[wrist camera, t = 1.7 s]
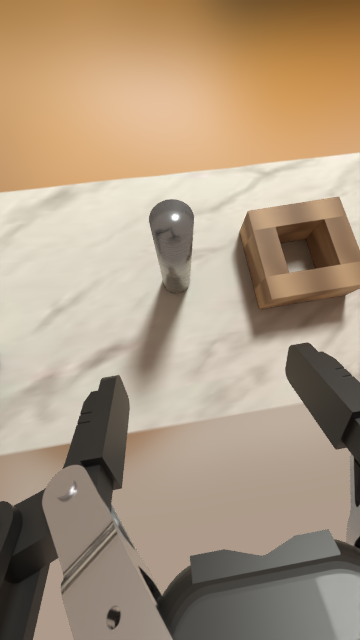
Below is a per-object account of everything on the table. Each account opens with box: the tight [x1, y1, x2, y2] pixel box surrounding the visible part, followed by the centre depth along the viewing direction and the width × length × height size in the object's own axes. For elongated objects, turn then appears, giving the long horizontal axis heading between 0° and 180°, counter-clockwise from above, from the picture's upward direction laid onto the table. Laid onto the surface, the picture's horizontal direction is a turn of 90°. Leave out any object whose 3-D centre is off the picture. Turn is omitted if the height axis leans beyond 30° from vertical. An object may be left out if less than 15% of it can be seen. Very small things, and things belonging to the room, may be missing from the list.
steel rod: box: [149, 199, 194, 293], centre depth 23 cm, size 3×3×12 cm
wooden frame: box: [240, 197, 360, 309], centre depth 27 cm, size 11×11×4 cm
